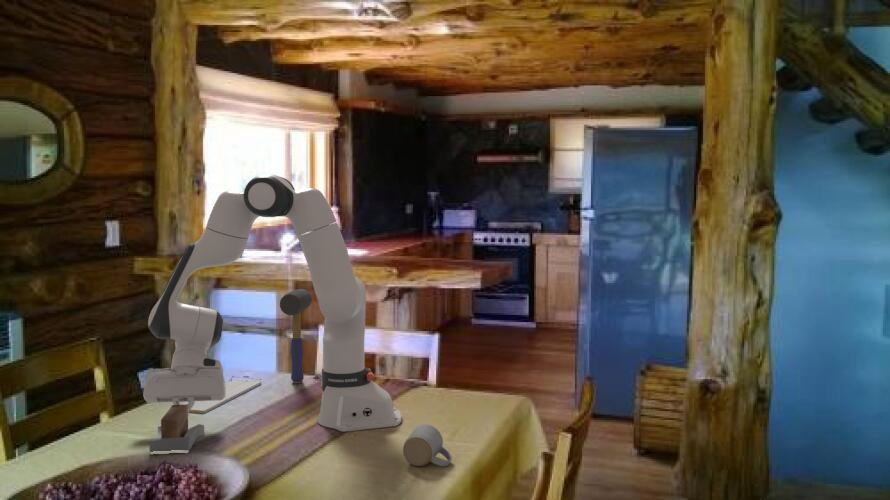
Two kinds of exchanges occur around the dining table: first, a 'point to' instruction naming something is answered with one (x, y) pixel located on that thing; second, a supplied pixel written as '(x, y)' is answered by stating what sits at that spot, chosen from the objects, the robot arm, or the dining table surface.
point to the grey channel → (176, 440)
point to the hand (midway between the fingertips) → (181, 415)
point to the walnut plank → (175, 422)
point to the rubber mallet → (296, 327)
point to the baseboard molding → (232, 392)
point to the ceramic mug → (425, 447)
